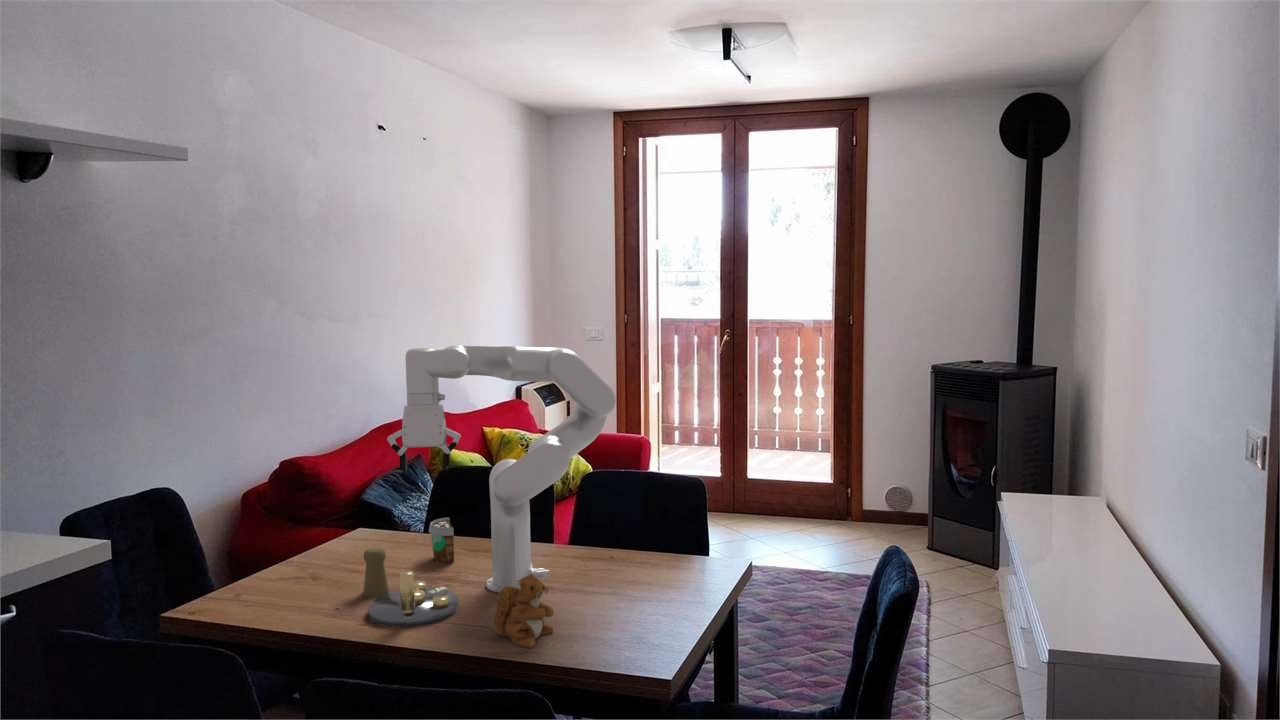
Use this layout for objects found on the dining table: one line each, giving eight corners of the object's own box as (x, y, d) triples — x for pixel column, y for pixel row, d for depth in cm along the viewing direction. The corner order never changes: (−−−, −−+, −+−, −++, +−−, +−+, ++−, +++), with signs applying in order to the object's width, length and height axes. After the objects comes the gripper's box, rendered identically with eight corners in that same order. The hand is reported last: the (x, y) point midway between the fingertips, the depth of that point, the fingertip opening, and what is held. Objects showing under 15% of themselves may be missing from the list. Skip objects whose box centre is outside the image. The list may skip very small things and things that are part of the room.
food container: (428, 553, 248) (426, 518, 247) (450, 551, 250) (449, 516, 249) (431, 566, 236) (430, 530, 235) (454, 564, 238) (453, 527, 237)
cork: (381, 597, 213) (379, 552, 212) (358, 595, 214) (356, 551, 213) (393, 588, 219) (391, 545, 218) (370, 587, 220) (369, 544, 219)
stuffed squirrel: (534, 650, 181) (532, 587, 180) (479, 637, 188) (478, 577, 186) (561, 633, 190) (560, 573, 188) (508, 622, 196) (506, 564, 195)
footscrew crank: (404, 598, 206) (403, 559, 205) (426, 597, 206) (425, 558, 206) (395, 617, 194) (393, 575, 193) (418, 616, 195) (417, 574, 194)
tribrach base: (461, 593, 215) (461, 578, 215) (454, 624, 195) (453, 607, 195) (377, 597, 213) (376, 582, 212) (361, 629, 193) (360, 612, 193)
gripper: (460, 396, 217) (462, 465, 218) (388, 398, 215) (391, 468, 216) (458, 400, 209) (460, 471, 211) (383, 402, 207) (386, 474, 209)
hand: (425, 470), depth 214 cm, fingers open, 9 cm apart
